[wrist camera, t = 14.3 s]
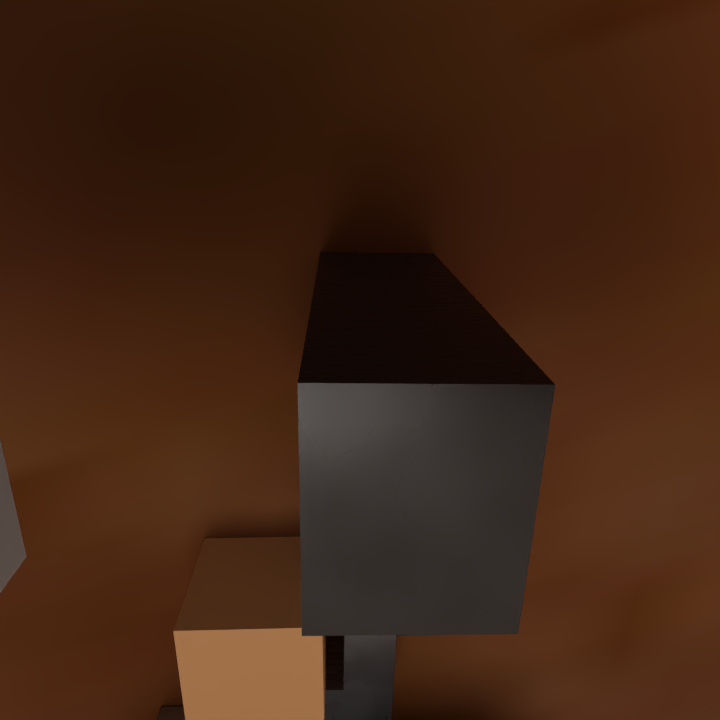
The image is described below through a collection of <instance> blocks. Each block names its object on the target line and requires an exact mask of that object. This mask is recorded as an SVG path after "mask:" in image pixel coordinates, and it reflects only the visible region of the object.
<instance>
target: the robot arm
mask: <svg viewBox="0 0 720 720" xmlns="http://www.w3.org/2000/svg"><path fill="white" fill-rule="evenodd" d="M25 558H26V552H25V548H24V544H23V539H22V535H21V530H20V526H19V521H18V517H17V512H16V508H15V503H14V499H13V495H12V490H11V486H10V481H9V477H8V472H7V468H6V463H5V459H4V455H3V450H2V446H1V441H0V593H1V591H2V590H3V588H4V587H5V586H6V584H7V583H8V582H9V580H10V579H11V577H12V576H13V575H14V573H15V572H16V570H17V569H18V568H19V566H20V565H21V563H22V562H23V561H24V559H25Z"/></svg>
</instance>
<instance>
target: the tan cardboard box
mask: <svg viewBox="0 0 720 720" xmlns="http://www.w3.org/2000/svg"><path fill="white" fill-rule="evenodd" d="M157 720H185V714H184V706H169V707H161V709H160V712H159V715H158V718H157Z"/></svg>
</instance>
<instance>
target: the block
mask: <svg viewBox="0 0 720 720" xmlns="http://www.w3.org/2000/svg"><path fill="white" fill-rule="evenodd" d="M173 632H174V639H175V647H176V654H177V661H178V669H179V676H180V684H181V691H182V699H183V706H184V714H185V720H325V678H326V636H302V619H301V554H300V537H244V538H205V539H204V542H203V545H202V548H201V551H200V554H199V557H198V560H197V563H196V566H195V569H194V572H193V575H192V578H191V581H190V584H189V586H188V589H187V592H186V595H185V598H184V601H183V604H182V607H181V610H180V613H179V616H178V619H177V622H176V625H175V628H174V631H173Z"/></svg>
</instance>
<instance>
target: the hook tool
mask: <svg viewBox="0 0 720 720" xmlns="http://www.w3.org/2000/svg"><path fill="white" fill-rule="evenodd" d="M554 389H555V384H554V383H553V382H552V381H551V380H550V379H549V378H548V377H547V375H546V374H545V373H544V372H543V371H542V370H541V369H540V368H539V367H538V366H537V365H536V364H535V362H534V361H533V360H532V359H531V358H530V357H529V356H528V355H527V354H526V353H525V352H524V351H523V349H522V348H521V347H520V346H519V345H518V344H517V343H516V342H515V341H514V340H513V339H512V338H511V336H510V335H509V334H508V333H507V332H506V331H505V330H504V329H503V328H502V327H501V326H500V325H499V324H498V322H497V321H496V320H495V319H494V318H493V317H492V316H491V315H490V314H489V313H488V312H487V311H486V309H485V308H484V307H483V306H482V305H481V304H480V303H479V302H478V301H477V300H476V299H475V298H474V296H473V295H472V294H471V293H470V292H469V291H468V290H467V289H466V288H465V287H464V286H463V285H462V283H461V282H460V281H459V280H458V279H457V278H456V277H455V276H454V275H453V274H452V273H451V272H450V270H449V269H448V268H447V267H446V266H445V265H444V264H443V263H442V262H441V261H440V260H439V259H438V258H437V256H436V255H435V254H399V253H338V252H320V257H319V263H318V269H317V275H316V280H315V286H314V292H313V298H312V304H311V309H310V315H309V321H308V327H307V333H306V338H305V344H304V350H303V356H302V362H301V367H300V373H299V379H298V425H299V490H300V554H301V619H302V636H326V678H325V720H392V702H393V685H394V667H395V649H396V635H445V634H518V629H519V623H520V616H521V609H522V603H523V596H524V589H525V583H526V576H527V569H528V563H529V556H530V549H531V542H532V536H533V529H534V522H535V516H536V509H537V502H538V496H539V489H540V482H541V476H542V469H543V462H544V456H545V449H546V442H547V436H548V429H549V422H550V415H551V409H552V402H553V395H554Z"/></svg>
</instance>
